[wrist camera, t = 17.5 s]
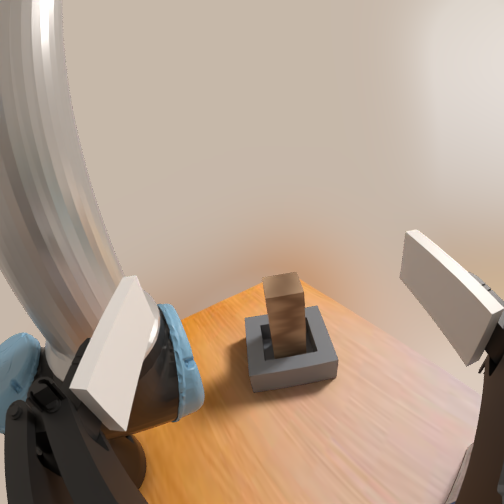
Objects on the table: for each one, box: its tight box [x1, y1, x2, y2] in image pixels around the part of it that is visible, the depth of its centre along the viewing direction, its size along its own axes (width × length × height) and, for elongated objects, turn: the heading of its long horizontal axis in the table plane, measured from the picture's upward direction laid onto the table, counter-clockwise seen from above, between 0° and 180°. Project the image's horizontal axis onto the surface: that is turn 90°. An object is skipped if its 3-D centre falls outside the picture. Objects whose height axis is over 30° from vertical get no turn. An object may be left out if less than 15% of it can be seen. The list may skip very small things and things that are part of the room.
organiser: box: [245, 306, 338, 392], centre depth 44 cm, size 13×13×4 cm
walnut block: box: [262, 272, 306, 359], centre depth 41 cm, size 5×5×14 cm
